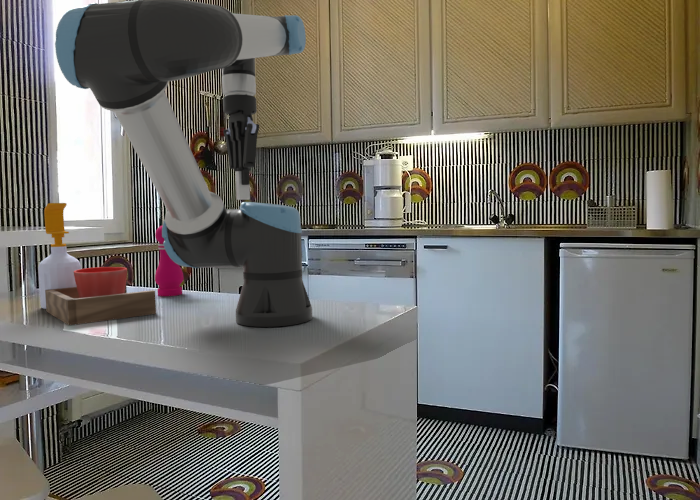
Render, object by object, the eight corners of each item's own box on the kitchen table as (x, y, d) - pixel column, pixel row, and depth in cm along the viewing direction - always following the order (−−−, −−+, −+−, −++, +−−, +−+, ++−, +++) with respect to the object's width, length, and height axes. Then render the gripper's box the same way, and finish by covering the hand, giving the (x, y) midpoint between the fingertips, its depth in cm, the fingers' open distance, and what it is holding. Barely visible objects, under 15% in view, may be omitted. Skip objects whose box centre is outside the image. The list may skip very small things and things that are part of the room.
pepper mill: (166, 297, 151) (163, 219, 149) (150, 295, 155) (146, 219, 154) (189, 293, 157) (186, 218, 155) (173, 291, 161) (169, 218, 159)
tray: (156, 313, 128) (155, 290, 127) (69, 325, 117) (67, 300, 117) (125, 302, 144) (124, 282, 144) (46, 311, 134) (45, 289, 133)
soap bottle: (45, 311, 134) (39, 203, 132) (37, 306, 141) (30, 203, 139) (87, 306, 140) (81, 202, 138) (77, 301, 147) (71, 203, 145)
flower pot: (129, 314, 128) (127, 269, 127) (74, 318, 124) (71, 273, 123) (129, 306, 138) (127, 265, 137) (77, 310, 134) (75, 268, 133)
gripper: (268, 93, 132) (271, 198, 134) (240, 102, 142) (244, 200, 144) (238, 89, 128) (242, 199, 129) (211, 99, 138) (215, 200, 140)
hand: (243, 199), depth 137 cm, fingers closed
